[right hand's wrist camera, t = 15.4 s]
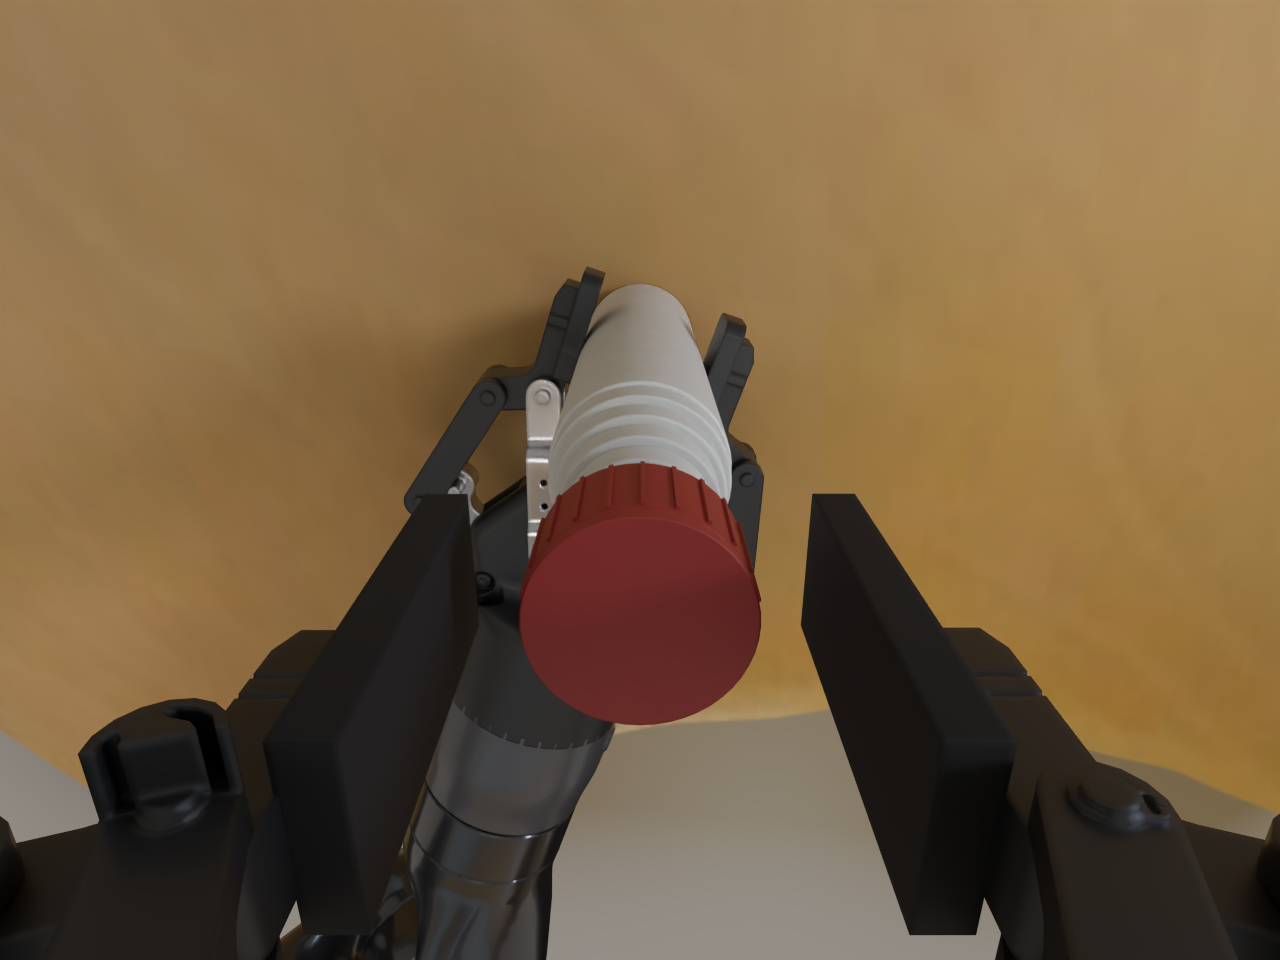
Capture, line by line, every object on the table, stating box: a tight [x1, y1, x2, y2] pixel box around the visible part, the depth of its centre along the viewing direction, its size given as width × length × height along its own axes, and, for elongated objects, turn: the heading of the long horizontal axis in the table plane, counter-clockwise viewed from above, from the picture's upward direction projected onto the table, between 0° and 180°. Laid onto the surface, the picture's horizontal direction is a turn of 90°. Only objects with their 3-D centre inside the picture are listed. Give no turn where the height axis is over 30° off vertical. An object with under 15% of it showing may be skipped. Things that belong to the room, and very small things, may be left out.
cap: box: [519, 461, 761, 725], centre depth 14 cm, size 4×4×2 cm
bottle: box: [548, 284, 732, 506], centre depth 23 cm, size 4×4×22 cm
